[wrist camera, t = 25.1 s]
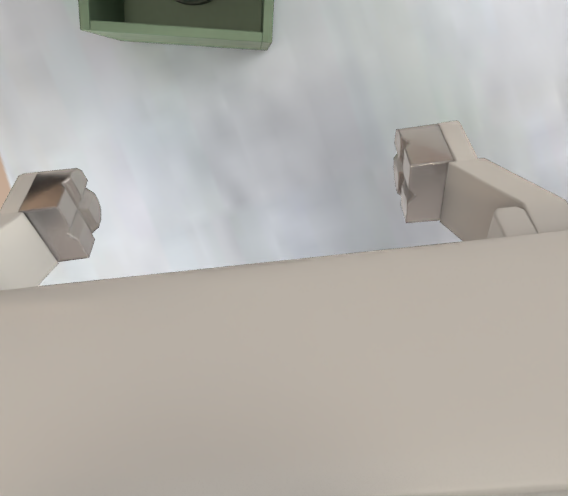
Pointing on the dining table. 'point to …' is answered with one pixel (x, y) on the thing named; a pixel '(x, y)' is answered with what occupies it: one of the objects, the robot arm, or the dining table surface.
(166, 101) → the dining table surface
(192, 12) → the waste bin
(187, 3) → the travel mug
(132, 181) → the dining table surface
